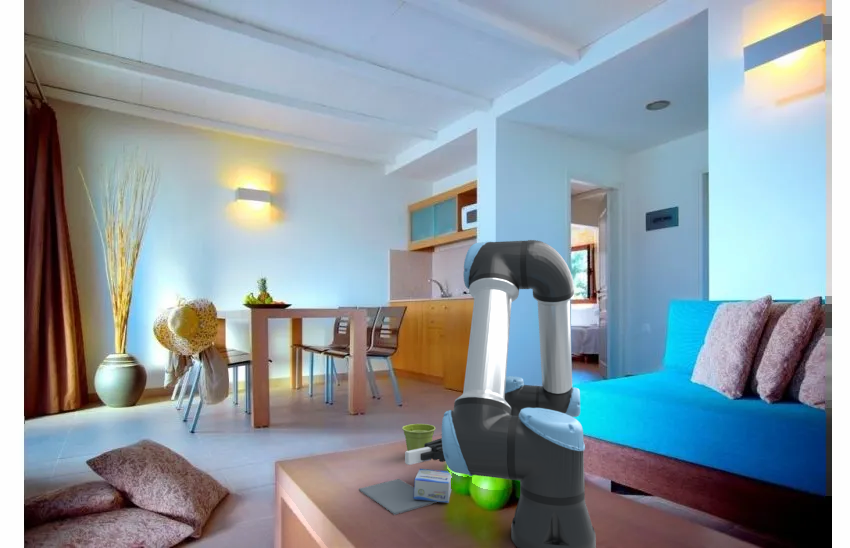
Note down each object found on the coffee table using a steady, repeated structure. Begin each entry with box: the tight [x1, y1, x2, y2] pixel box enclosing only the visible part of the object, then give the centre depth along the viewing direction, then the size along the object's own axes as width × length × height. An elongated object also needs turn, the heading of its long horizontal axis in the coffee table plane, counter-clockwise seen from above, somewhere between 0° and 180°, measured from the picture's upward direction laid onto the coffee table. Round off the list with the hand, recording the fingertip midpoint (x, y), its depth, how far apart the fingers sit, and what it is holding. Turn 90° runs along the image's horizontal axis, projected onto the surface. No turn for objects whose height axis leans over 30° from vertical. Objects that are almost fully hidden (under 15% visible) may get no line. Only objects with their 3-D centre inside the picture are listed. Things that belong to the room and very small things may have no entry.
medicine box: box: [413, 468, 453, 504], centre depth 110 cm, size 8×4×9 cm
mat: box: [358, 478, 437, 516], centre depth 110 cm, size 16×11×1 cm
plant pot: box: [401, 423, 436, 451], centre depth 137 cm, size 9×9×9 cm
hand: (406, 458), depth 112 cm, fingers closed
